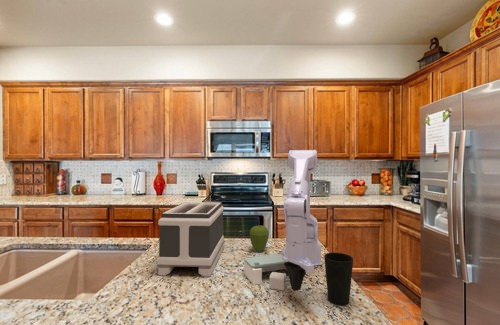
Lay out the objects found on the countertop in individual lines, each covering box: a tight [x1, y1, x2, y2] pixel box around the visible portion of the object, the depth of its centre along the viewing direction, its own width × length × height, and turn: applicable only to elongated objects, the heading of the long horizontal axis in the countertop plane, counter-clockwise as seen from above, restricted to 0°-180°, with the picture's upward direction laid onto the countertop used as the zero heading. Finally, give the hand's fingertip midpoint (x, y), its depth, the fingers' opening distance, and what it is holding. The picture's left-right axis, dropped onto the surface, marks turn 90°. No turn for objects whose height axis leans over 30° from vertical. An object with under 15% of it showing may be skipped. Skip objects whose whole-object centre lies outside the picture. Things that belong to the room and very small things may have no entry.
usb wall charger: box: [269, 271, 291, 292], centre depth 79 cm, size 4×7×4 cm, turn 72°
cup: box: [323, 252, 354, 307], centre depth 72 cm, size 8×8×12 cm
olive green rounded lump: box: [249, 224, 270, 253], centre depth 114 cm, size 9×8×12 cm
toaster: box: [156, 201, 225, 278], centre depth 104 cm, size 18×34×21 cm, turn 177°
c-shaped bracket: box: [243, 259, 287, 286], centre depth 88 cm, size 16×9×5 cm, turn 110°
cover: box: [243, 253, 288, 267], centre depth 89 cm, size 16×8×1 cm, turn 110°
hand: (296, 289), depth 72 cm, fingers closed
